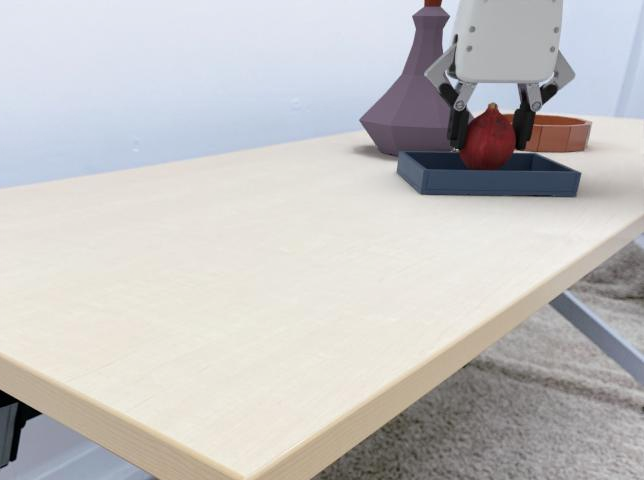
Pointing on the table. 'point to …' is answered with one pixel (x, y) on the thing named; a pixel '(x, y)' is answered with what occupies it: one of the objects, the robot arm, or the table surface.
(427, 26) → the flask
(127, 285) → the table surface
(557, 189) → the tray
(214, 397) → the table surface
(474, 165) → the onion
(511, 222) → the table surface
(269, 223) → the table surface
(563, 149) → the bowl
